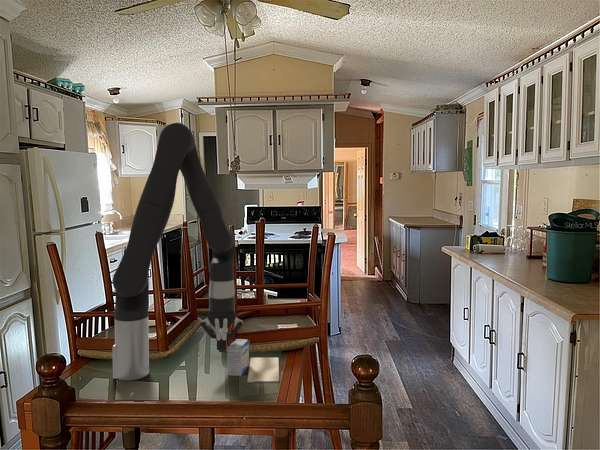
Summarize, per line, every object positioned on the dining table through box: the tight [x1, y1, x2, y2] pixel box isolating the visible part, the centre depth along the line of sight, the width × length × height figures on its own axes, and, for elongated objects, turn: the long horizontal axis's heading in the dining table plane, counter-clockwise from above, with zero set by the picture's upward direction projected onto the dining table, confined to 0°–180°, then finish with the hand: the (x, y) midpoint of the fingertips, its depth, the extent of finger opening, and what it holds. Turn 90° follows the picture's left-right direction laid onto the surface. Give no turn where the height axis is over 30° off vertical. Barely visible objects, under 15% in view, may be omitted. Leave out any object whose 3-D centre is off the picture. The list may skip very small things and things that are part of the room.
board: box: [246, 357, 280, 384], centre depth 134 cm, size 9×18×1 cm, turn 4°
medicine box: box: [226, 338, 250, 377], centre depth 133 cm, size 8×4×9 cm, turn 170°
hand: (221, 351), depth 133 cm, fingers closed
